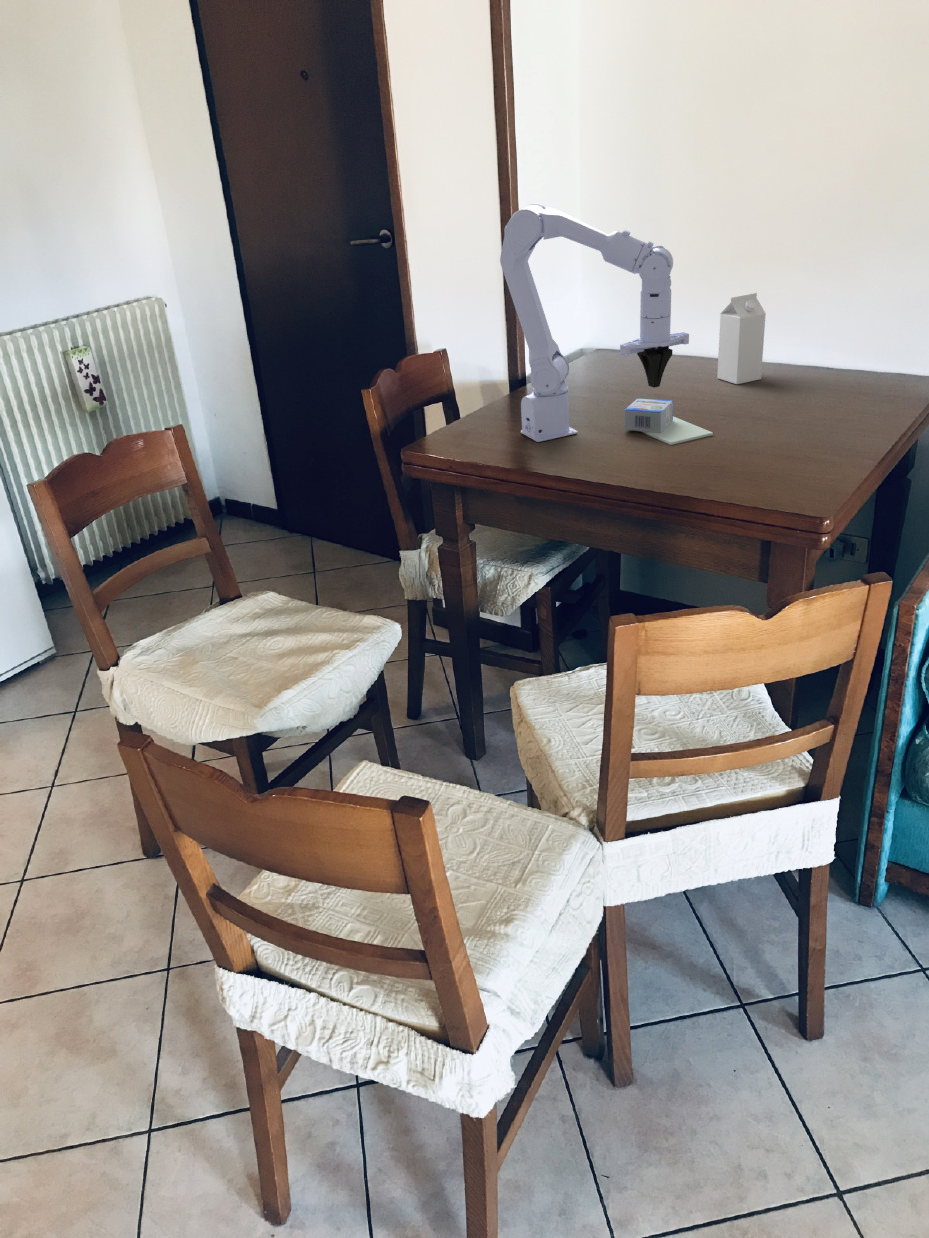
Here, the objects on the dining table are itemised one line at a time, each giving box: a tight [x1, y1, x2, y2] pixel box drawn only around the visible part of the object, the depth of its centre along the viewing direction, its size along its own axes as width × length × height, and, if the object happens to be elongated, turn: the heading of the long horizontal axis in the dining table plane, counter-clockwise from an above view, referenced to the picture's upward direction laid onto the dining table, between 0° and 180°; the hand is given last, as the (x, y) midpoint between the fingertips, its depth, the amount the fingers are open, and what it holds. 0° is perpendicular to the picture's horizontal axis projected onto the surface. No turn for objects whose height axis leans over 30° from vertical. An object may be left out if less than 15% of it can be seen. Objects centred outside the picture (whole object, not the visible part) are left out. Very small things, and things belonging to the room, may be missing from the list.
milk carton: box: [716, 292, 766, 385], centre depth 219 cm, size 7×7×19 cm
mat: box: [640, 415, 714, 446], centre depth 195 cm, size 10×15×1 cm, turn 24°
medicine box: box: [623, 397, 674, 433], centre depth 196 cm, size 8×4×9 cm
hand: (654, 386), depth 189 cm, fingers closed
